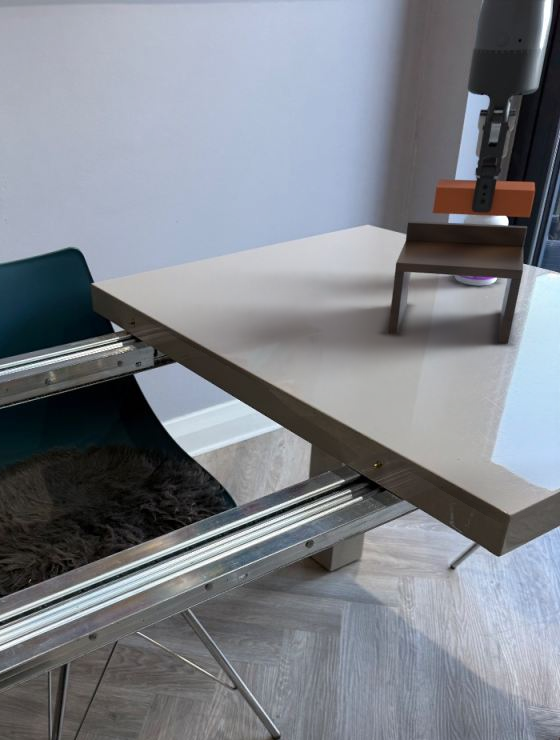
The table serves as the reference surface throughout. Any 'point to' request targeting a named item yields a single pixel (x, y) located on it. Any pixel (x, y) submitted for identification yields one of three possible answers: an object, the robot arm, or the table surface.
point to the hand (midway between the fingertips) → (481, 205)
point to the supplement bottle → (488, 221)
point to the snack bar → (506, 198)
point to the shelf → (461, 261)
